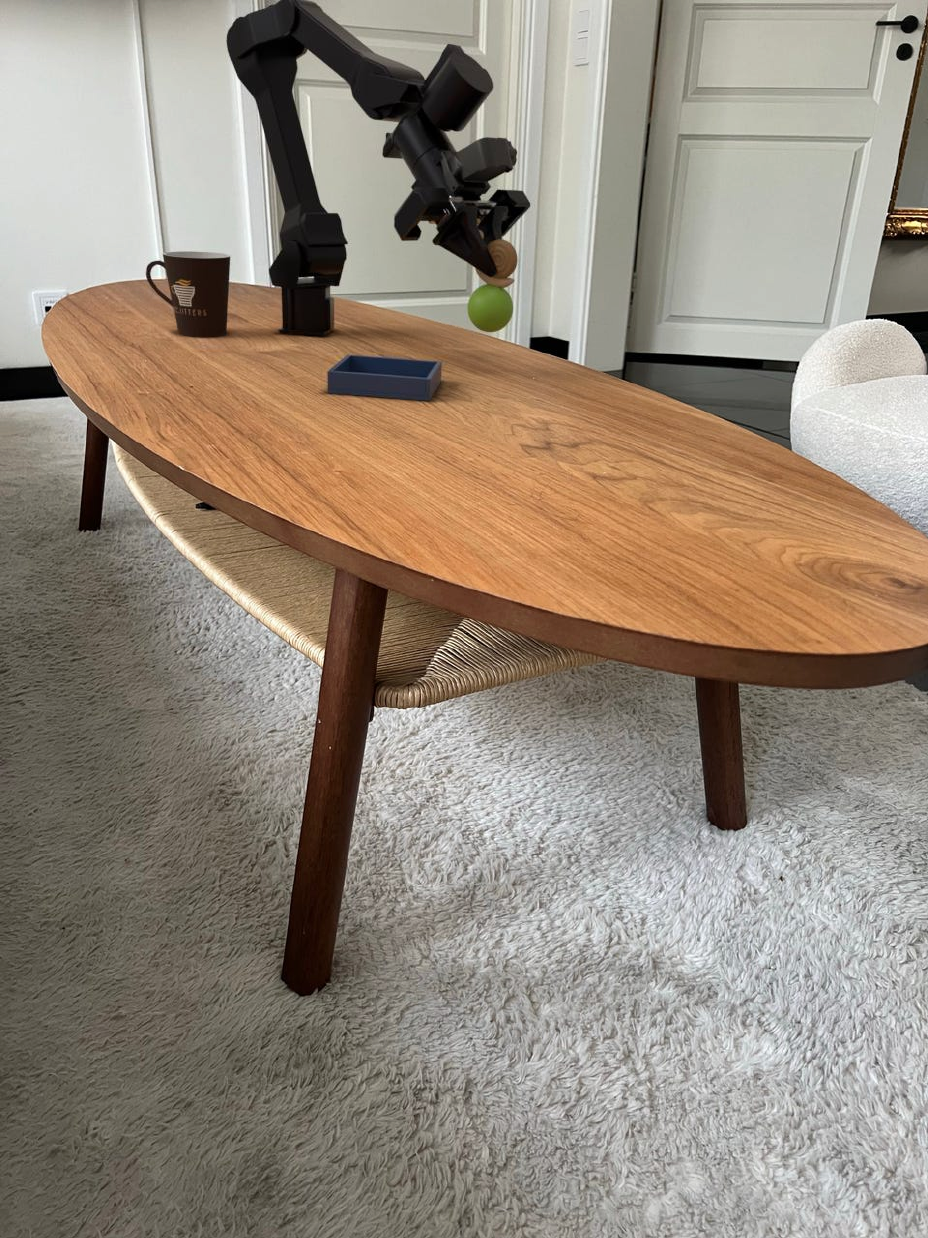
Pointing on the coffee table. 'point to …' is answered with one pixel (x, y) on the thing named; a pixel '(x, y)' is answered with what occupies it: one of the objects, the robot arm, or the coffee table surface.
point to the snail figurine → (494, 289)
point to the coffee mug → (196, 291)
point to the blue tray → (385, 377)
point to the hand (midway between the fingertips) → (499, 274)
